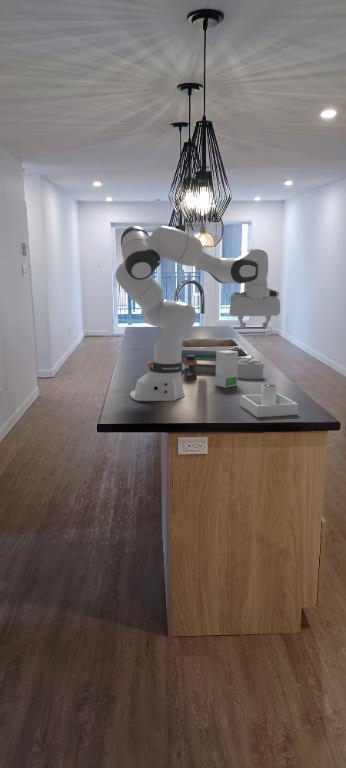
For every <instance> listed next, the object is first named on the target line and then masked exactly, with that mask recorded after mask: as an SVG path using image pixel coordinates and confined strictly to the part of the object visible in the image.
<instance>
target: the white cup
mask: <svg viewBox="0 0 346 768" xmlns="http://www.w3.org/2000/svg"><path fill="white" fill-rule="evenodd" d="M277 389H278V385H277V384H275V383H262V384H261V390H260V391H261V392H260V394H261V405H274V404H276V393H277Z"/></svg>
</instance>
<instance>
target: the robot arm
mask: <svg viewBox="0 0 346 768" xmlns="http://www.w3.org/2000/svg"><path fill="white" fill-rule="evenodd" d="M120 247H121V255H122V258H123V262H122V263H121V264H119V265H118V267H117V268H116V270H115V279H116V281H117V283H118V284H119V285H120V287H121V288H122V289H123V291H124V292H125V293H126V294H127V295H128V296H129V297H130V298H131V299H132V300H133V301H134V302H135V303H136V304H137V305H138V306H139V307H140V309H141V313H140V315H141V318H142V320H143V322H144V323H146V324H148V325H151V326H152V327H156V328H163V331H162V334H161V336H160V337H159V338H157V340H155V342H154V350H153V351H154V354H153V355H154V361H152V362H151V361H147V362H146V366H147V367H149V370H148V372H146V373H145V374H144V375H142V376H141V377H140V378H138V379H137V381H136V383H135V384H136V385H135V389H134V390H132V391H130V394H129V396H130V398H131V399H132V400H135V401H138V402H155V401H156V402H168V401H169V402H171V401H174V402H175V401H177V400H179V399H181V398H184V397H185V395H186V394H185V392H184V391H185V390H184V387H183V386H184V385H183V378H182V375H183V372H184V371H183V370H184V368H183V367H184V366H183V365H184V364H183V363H182V362H181V356H182V354H183V353H182V347H183V343H184V342H183V341H184V338H185V336H186V334H187V332H188V331H189V330H190V329H191V328H192V327H193V326H194V325H195V322H196V320H197V311H196V309H195V307H194V306H193V305H192V304H190V303H187V302H185V301H177V300H169V299H166V298H164V297H163V295H164V293H163V292H164V290H163V287H162V286H161V285H160V284H159V283H158V282H157V281H156V280H155V279H154V278H153V276H152V275H153V274H154V273H155V271H156V269H157V268H158V267H160V265H161V262H162V261H161V260H162V259H165V260H168V261H171V262H174V263H175V264H180V265H182V266H189V267H194V268H197V269H199V270H202V271H203V272H206V273H208V274H209V275H210V276H212V278H213V279H214V280H215V281H216V282H217V283H220V284H237V285H239V284H240V285H241V284H244V286H243V287H244V288H243V289H244V291H240V292H238V291H235V292H233V293H232V294H231V295H230V296H229V300H230V305H229V310H228V311H229V315H230V317H237V320H238V322H239V323H240V325H239V326H240V328H241V329H244V328H246V325H247V324H246V323H245V322H244V321H243V320H244V317H265V321H264V322H262V327H263V328H268V325H269V323H270V321H271V318H272V317H276V316H279V315H280V313H281V301H280V298H278V297H280V292H279V291H278V290H275V289H272V288H269V287H268V274H269V255H268V253H267V252H266V251H265V250H263V249H258V248H249V249H247V251H246V252H245V253H243V254H241V255H239V256H237V257H225V256H224V257H222V256H221V257H215V256H213V255H211V254H209V253H207V252H204V251H203V245H202V242H201V240H200V239H198V238H197V237H196V236H194V235H193V234H191V233H189V232H187V231H184V230H181V229H179V228H177V227H176V228H175V227H172V226H166V225H160V226H157V227H156V228H155V229H154V230H153V231H152V233H151V234H150V235H149V234H148V231H147V230H146V229H144V228H143V227H141V226H139V225H131V226H129V227H127V228H126V229H125V230H124V231H123V233H122V235H121V239H120Z"/></svg>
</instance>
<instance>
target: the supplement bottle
mask: <svg viewBox="0 0 346 768" xmlns="http://www.w3.org/2000/svg"><path fill="white" fill-rule="evenodd" d="M186 358H187V359H186V360H185V361H184V364H183V365H184V366H183V367H184V368H183V370H184V371H183V372H184V373H183V376H184V377H183V378H184V379H185V380H187V381H194V380H196V379H198V377H197V376H198V372H197V364H198V360H195V355H187V356H186Z"/></svg>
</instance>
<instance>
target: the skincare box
mask: <svg viewBox="0 0 346 768" xmlns="http://www.w3.org/2000/svg"><path fill="white" fill-rule="evenodd" d="M238 361H239V351H237V350H236V351H235V350H231V349H230V350H226V351H216V361H215V364H216V372H215V381H214V384H215V386H217V387H221V388H229V387H236V386H238V378H237V370H238Z"/></svg>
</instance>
